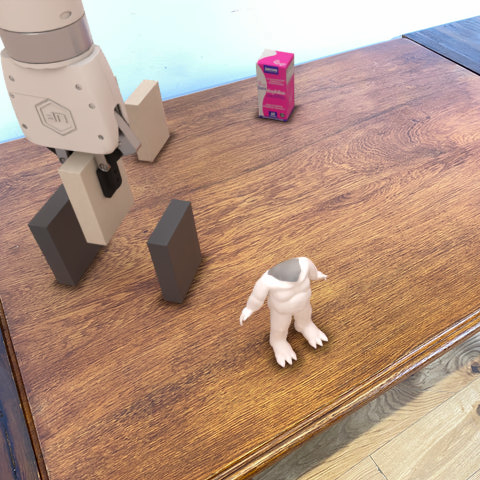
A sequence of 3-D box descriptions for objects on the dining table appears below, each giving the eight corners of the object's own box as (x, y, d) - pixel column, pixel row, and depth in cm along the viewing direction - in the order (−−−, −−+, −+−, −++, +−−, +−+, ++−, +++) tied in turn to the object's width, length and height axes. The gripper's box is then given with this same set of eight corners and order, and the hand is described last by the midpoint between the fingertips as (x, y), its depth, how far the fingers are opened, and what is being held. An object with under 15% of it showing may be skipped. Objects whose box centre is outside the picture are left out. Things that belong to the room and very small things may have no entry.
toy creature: (264, 382, 60) (258, 321, 51) (239, 345, 63) (229, 282, 54) (346, 333, 65) (353, 270, 56) (318, 301, 68) (320, 237, 59)
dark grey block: (58, 283, 69) (26, 224, 61) (87, 241, 75) (62, 183, 67) (75, 286, 69) (46, 227, 61) (103, 244, 74) (80, 185, 66)
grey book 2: (164, 300, 67) (146, 242, 60) (185, 257, 73) (172, 198, 65) (182, 303, 67) (166, 245, 59) (202, 259, 73) (190, 201, 65)
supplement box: (258, 118, 99) (254, 62, 91) (267, 102, 103) (264, 47, 95) (287, 123, 98) (285, 66, 90) (295, 107, 102) (294, 51, 94)
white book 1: (87, 242, 62) (57, 170, 54) (116, 199, 67) (93, 128, 59) (106, 245, 61) (79, 173, 54) (135, 202, 67) (114, 131, 59)
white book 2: (138, 160, 89) (122, 103, 81) (157, 134, 94) (143, 79, 86) (152, 161, 88) (137, 105, 80) (170, 136, 94) (158, 80, 86)
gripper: (-61, 43, 45) (18, 199, 59) (111, 65, 44) (153, 220, 57) (-9, 10, 51) (53, 160, 64) (147, 28, 49) (177, 178, 62)
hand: (100, 187), depth 60 cm, fingers closed on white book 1, 2 cm apart
